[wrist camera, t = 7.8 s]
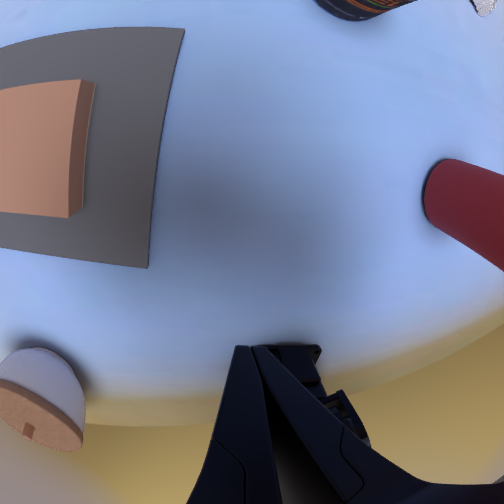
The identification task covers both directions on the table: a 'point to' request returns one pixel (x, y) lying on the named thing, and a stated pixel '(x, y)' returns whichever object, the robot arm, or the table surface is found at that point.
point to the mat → (101, 138)
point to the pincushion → (484, 6)
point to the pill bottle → (361, 7)
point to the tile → (44, 147)
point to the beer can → (468, 207)
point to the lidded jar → (42, 398)
